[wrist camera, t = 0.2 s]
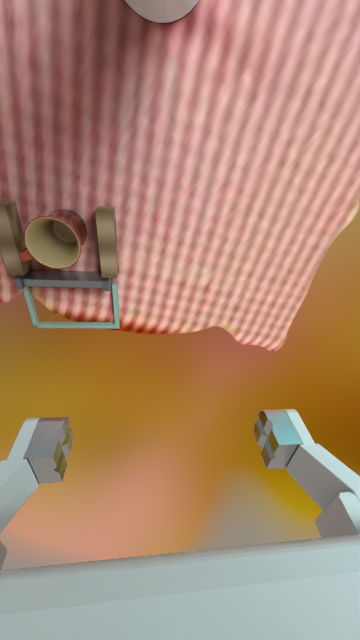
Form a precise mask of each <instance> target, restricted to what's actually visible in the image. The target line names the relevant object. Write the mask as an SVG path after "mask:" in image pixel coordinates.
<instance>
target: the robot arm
mask: <svg viewBox="0 0 360 640" xmlns="http://www.w3.org/2000/svg"><path fill="white" fill-rule="evenodd" d="M125 1H126V2H127V4H128V5H129V6H130V7H131V8H132V9H133V10H134V11H135V12H136V13H138V14H139V15H141V16H142V17H144V18H146V19H148V20H150V21H153V22H158V23H168V22H173V21H175V20H178V19H180V18H182V17H183V16H185V15H186V14H187V13H188V12H190V11H191V10H192V9H193V7H194V6H195V5H196V4H197V2H198V1H199V0H125ZM259 418H260V419H259V420H257V421H256V423H255V426H254V434H255V438H256V441H257V443H258V444H259V445H260V446H261V447H262V451H261V455H262V457H263V460H264V463H265V466H266V468H267V469H273V468H286V471H287V472H288V473H290V475H291V476H292V477H293V478H294V479H295V480H296V481H297V482H298V484H299V485H300V486H301V487H302V488H303V489H304V490H305V491H306V492H307V494H308V495H309V496H310V497H311V498H312V499H313V500H314V501H315V502H316V503H317V505H318V506H319V507H320V508H321V509H322V510H323V512H322V513H321V514H320V515H319V516H318V517H317V518H316V521H315V524H316V526H317V528H318V531H319V533H320V535H321V538H317V539H306V540H296V541H286V542H277V543H267V544H257V545H247V546H237V547H227V548H217V549H207V550H198V551H188V552H178V553H168V554H159V555H148V556H138V557H129V558H118V559H109V560H98V561H88V562H79V563H69V564H59V565H50V566H39V567H30V568H19V569H9V570H1V569H2V565H3V563H4V559H5V557H6V554H7V549H6V547H5V545H4V544H3V543H2V542H1V541H0V640H360V477H359V476H358V475H357V474H356V473H354V472H353V471H352V470H350V469H349V468H348V467H347V466H345V465H344V464H343V463H342V462H340V461H339V460H338V459H337V458H335V457H334V456H333V455H332V454H330V453H329V452H328V451H327V450H325V449H324V448H323V447H322V446H320V445H319V444H315V443H314V441H313V439H312V437H311V436H310V434H309V432H308V430H307V428H306V427H305V425H304V423H303V421H302V419H301V418H300V416H299V414H298V412H297V411H296V410H295V409H284V410H283V409H278V410H277V409H276V410H262V411H260V412H259ZM68 426H69V418H68V417H56V418H55V417H54V418H27V419H26V420H25V421H24V423H23V425H22V427H21V429H20V431H19V434H18V436H17V438H16V440H15V442H14V445H13V447H12V449H11V451H10V453H9V456H8V458H7V460H2V461H1V462H0V533H1V532H2V530H3V529H4V528H5V526H6V525H7V524H8V523H9V522H10V520H11V519H12V518H13V517H14V515H15V514H16V513H17V512H18V510H19V509H20V508H21V507H22V506H23V504H24V503H25V502H26V501H27V499H28V498H29V497H30V496H31V495H32V493H33V492H34V491H35V490H36V488H37V487H38V486H39V484H42V483H53V482H62V481H63V477H64V473H65V469H66V466H67V462H66V459H65V457H66V456H67V455H68V454H69V453H70V450H71V446H72V438H73V436H72V429H71V428H69V427H68Z"/></svg>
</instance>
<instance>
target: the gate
mask: <svg viewBox="0 0 360 640" xmlns="http://www.w3.org/2000/svg"><path fill="white" fill-rule="evenodd" d="M13 280H14V283H15V286H16V289H24V287H25V286H40V287H81V288H103V291H109V290H110V287H111V283H112V278H102V275H101V272H76V271H44V270H29V271H28V272H27V273H26V274H25V275H17V276H16V277H15V278H14V279H13Z"/></svg>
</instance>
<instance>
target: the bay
mask: <svg viewBox="0 0 360 640" xmlns="http://www.w3.org/2000/svg"><path fill="white" fill-rule="evenodd" d="M23 292H24V296H25V299H26V302H27V306H28V309H29V312H30V315H31V319H32V323H33V326H34V328H120V320H119V305H118V290H117V283H112V293H113V306H114V318H115V322H39V319H38V315H37V312H36V308H35V304H34V301H33V297H32V294H31V290H30V286H25V287H24V289H23Z"/></svg>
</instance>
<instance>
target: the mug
mask: <svg viewBox="0 0 360 640" xmlns="http://www.w3.org/2000/svg"><path fill="white" fill-rule="evenodd" d="M86 237H87V228H86V224H85V222H84V221H83V219H82V218H81V217H80V216H79V215H78V214H77V213H75V212H73V211H71V210H65V209H64V210H56V211H53V212H52V213H50V214H49V215H48V216H42V217H38V218H35V219H34V220H32V221H31V222H30V223H29V224H28V226H27V227H26V230H25V234H24V240H25V245H26V247H27V248H25V249H24V250H22V251H21V252H20V253H19V254H18V257H19V258H20V259H21V260H22V261H23V262H27V261H29V260H32V259H36V260H37V261H38V262H39V263H41V264H43V265H45V266H47V267H50V268H54V269H64V268H68V267H70V266H72V265H74V264H75V263H76V262H77V260H78V259H79V257H80V254H81V246H82V245H83V244H84V243H85V241H86Z"/></svg>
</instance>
